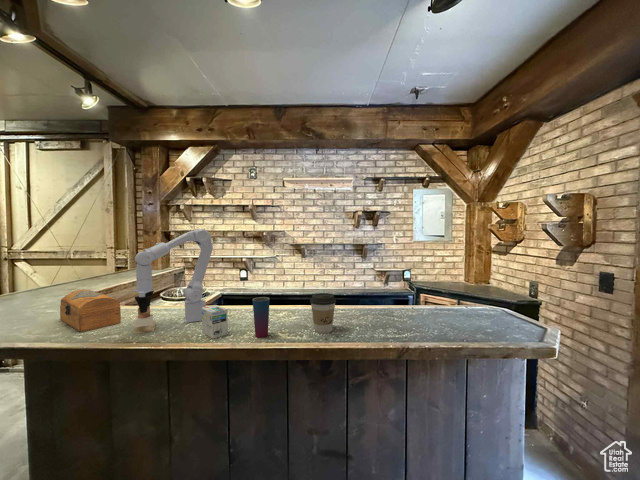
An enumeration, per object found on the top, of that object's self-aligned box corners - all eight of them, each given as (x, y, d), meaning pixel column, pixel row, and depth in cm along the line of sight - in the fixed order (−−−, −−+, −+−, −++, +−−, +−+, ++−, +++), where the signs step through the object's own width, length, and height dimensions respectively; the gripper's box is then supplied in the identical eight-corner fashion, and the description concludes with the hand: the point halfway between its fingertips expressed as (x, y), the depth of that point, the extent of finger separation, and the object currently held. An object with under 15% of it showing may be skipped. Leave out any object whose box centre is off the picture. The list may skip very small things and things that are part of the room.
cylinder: (151, 314, 120) (150, 305, 120) (149, 317, 116) (148, 308, 116) (139, 315, 118) (139, 306, 118) (137, 318, 114) (136, 309, 114)
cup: (266, 339, 105) (265, 301, 105) (250, 338, 107) (249, 300, 106) (272, 333, 112) (272, 297, 112) (257, 332, 113) (256, 296, 113)
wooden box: (57, 321, 130) (56, 292, 130) (99, 312, 143) (99, 287, 143) (74, 334, 113) (73, 301, 112) (121, 323, 126) (120, 294, 126)
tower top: (153, 321, 121) (152, 314, 120) (151, 325, 115) (151, 318, 115) (137, 323, 118) (136, 316, 118) (134, 327, 112) (134, 320, 112)
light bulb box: (228, 334, 111) (228, 308, 110) (212, 339, 106) (211, 312, 106) (217, 328, 118) (216, 304, 118) (201, 332, 113) (201, 307, 113)
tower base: (155, 326, 122) (155, 320, 122) (153, 331, 116) (153, 324, 115) (137, 329, 119) (136, 322, 119) (134, 334, 112) (133, 327, 112)
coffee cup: (317, 337, 107) (317, 300, 106) (305, 328, 117) (305, 294, 117) (341, 332, 112) (341, 296, 112) (328, 324, 122) (328, 291, 122)
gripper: (136, 277, 122) (137, 307, 122) (129, 282, 109) (130, 316, 109) (154, 276, 125) (155, 305, 125) (150, 281, 112) (150, 313, 112)
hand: (145, 310), depth 117 cm, fingers open, 7 cm apart
